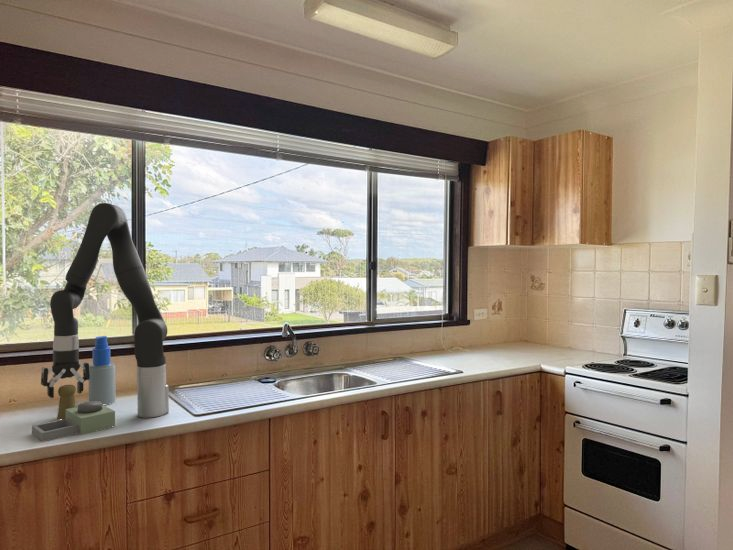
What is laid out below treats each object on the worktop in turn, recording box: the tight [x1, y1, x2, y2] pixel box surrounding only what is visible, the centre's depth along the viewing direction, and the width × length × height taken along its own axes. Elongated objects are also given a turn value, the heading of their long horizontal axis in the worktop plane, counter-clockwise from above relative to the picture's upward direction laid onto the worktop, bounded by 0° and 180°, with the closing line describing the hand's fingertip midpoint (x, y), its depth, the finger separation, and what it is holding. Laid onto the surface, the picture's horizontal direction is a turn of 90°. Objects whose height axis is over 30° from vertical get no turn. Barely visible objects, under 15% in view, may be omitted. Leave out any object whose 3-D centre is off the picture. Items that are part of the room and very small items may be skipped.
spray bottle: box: [88, 335, 117, 406], centre depth 188 cm, size 9×9×25 cm
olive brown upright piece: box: [56, 384, 77, 420], centre depth 171 cm, size 6×6×11 cm
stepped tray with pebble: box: [31, 401, 116, 442], centre depth 158 cm, size 20×14×7 cm
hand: (65, 395), depth 170 cm, fingers open, 8 cm apart
